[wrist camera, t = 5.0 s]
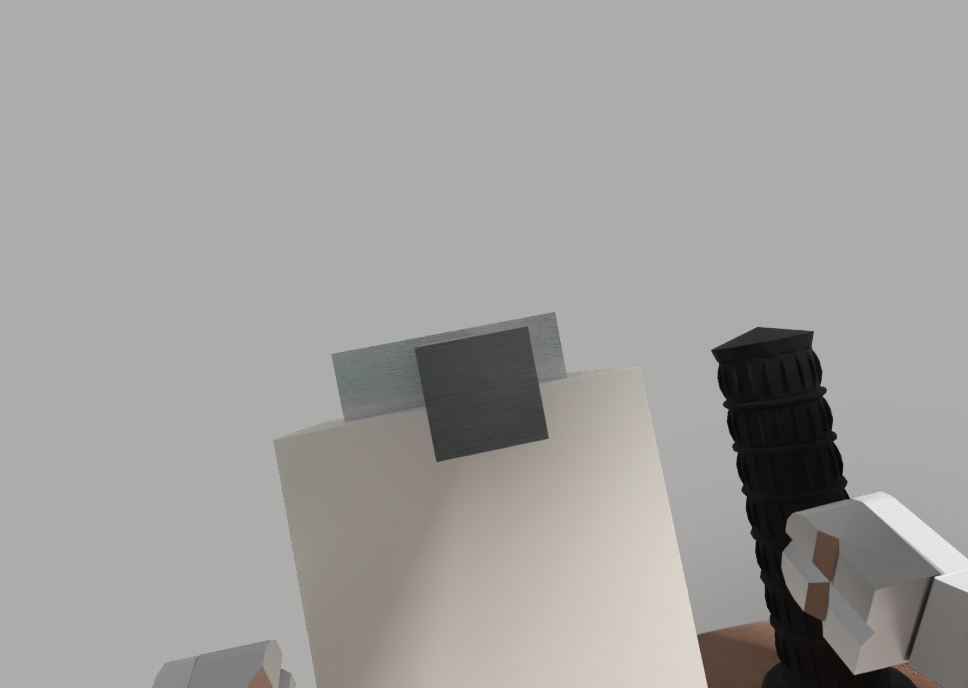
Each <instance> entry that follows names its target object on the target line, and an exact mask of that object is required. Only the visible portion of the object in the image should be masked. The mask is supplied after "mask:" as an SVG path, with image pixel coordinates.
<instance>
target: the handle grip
mask: <svg viewBox="0 0 968 688" xmlns="http://www.w3.org/2000/svg"><path fill="white" fill-rule="evenodd" d="M813 333H814V331H803V330H789V329H776V328H762V327H757V328H755V329H753V330H751V331H749V332H747V333H744V334H743V335H741V336H738V337H736V338H734V339H732V340H730V341H728V342H726V343H725V344H722V345H720V346H718V347H716V348H715V349H712V350H711V351H712V353H713V355H714V357H715V359H716V360H717V362H719V368H718V382H719V387H720V390H721V391H722V393H723V395H724V397H725V398H726V401H725V402H724V403H723V406H724V407H725V408H727V409H729V411H728V416H727V424H728V428H729V432H730V435H731V436H732V438H733V440H734V441H735V443H734V444H733V446H732V448H733V450H734V451H736V452H738V456H737V463H736V465H737V469H738V474H739V477H740V479H741V481H742V483H743V484H744V485H743V487H742V490H741V491H742V492H743V493H744V494H745V495H746V496H747V500H746V512H747V516H748V520H749V522H750V524H751V526H752V530H751V535H752V537H753V538H754V539H755V540H756V547H755V548H756V549H755V553H756V557H757V562H758V565H759V567H760V568H761V574H760V578H761V580H762V581H763V582H764V584H765V600H766V604H767V608H768V609H769V611H770V613H771V615H770V624H771V625H772V627H773V628H774V629H775V646H776V650H777V655H778V657H779V659H780V661H781V662H780V663H778V664H777V665H775V666H774V667H773V668H772V669H771V670H770V671H769V672H768V673H767V674H766V675H765V678H764V681H763V684H762V688H917V687H916V686H915V685H914V684H913V682H912V681H911V680H910V679H909V678H908V677H907V676H905V675H904V674H903V673H901V672H900V671H898V670H897V669H895V668H893V667H891V666H890V667H886V668H882V669H878V670H873V671H869V672H865V673H861V674H857V675H854V674H853V673H852V672H851V670H850V669H849V668H848V667H847V665H846V664H845V663H844V662H843V660H842V659H841V658H840V657H839V655H838V654H837V653H836V652H835V650H834V649H833V648H832V647H831V645H830V644H829V643H828V642H827V640H826V639H825V638H824V636H823V621H821V620H819V619H817V618H816V617H814V616H812V615H810V614H808V613H806V612H804V611H803V610H802V608H801V607H800V606H799V604H798V603H797V602H796V601H795V599H794V598H793V596H792V594H791V592H790V591H789V589H788V587H787V585H786V582H785V579H784V575H783V571H782V568H781V566H782V554H783V551H784V550H785V548H786V547H787V546H788V545H789V543H790V542H791V541H792V538H791V537H790V536H789V535H788V534H787V533H786V525H787V519H788V518H789V517H790V516H791V515H792V513H795V512H799V511H803V510H807V509H811V508H815V507H818V506H822V505H826V504H830V503H834V502H838V501H842V500H846V499H847V500H850V498H849V496H848V494H847V492H846V490H845V487H846V485H847V480H846V479H845V477H844V476H842V473H843V462H842V458H841V454H840V452H839V450H838V448H837V446H836V445H835V443H834V442H833V441H834V440H836V439H837V434H836V433H835V432H833V431H831V430H832V424H833V417H832V413H831V409H830V407H829V405H828V403H827V401H826V400H825V398H824V397H823V395H824V394H825V393H826V392H827V389H826V388H825V387H821V386H820V384H821V380H822V369H821V365H820V361H819V359H818V357H817V355H816V354H815V352H814V351H813V350H812V340H813Z"/></svg>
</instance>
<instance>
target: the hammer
mask: <svg viewBox="0 0 968 688" xmlns="http://www.w3.org/2000/svg"><path fill="white" fill-rule="evenodd" d="M332 359H333V365H334V369H335V375H336V380H337V385H338V390H339V396H340V401H341V406H342V411H343V416H344V421H345V422H348V421H353V420H358V419H363V418H368V417H373V416H378V415H383V414H388V413H393V412H398V411H403V410H408V409H413V408H418V407H423V406H426V411H427V416H428V421H429V426H430V432H431V437H432V442H433V447H434V453H435V458H436V462H440V461H445V460H450V459H454V458H459V457H464V456H469V455H473V454H478V453H483V452H488V451H493V450H497V449H502V448H507V447H512V446H516V445H521V444H526V443H531V442H535V441H540V440H545V439H549V436H548V431H547V425H546V420H545V415H544V409H543V404H542V399H541V393H540V388H539V383H543V382H548V381H553V380H558V379H563V378H567V375H566V369H565V364H564V359H563V354H562V348H561V342H560V337H559V332H558V326H557V321H556V315H555V312H553V313H547V314H542V315H537V316H532V317H526V318H521V319H515V320H510V321H505V322H500V323H494V324H489V325H484V326H479V327H473V328H468V329H463V330H458V331H452V332H446V333H441V334H436V335H431V336H425V337H420V338H415V339H409V340H404V341H399V342H393V343H388V344H383V345H378V346H372V347H367V348H362V349H356V350H351V351H346V352H340V353H335V354H332Z"/></svg>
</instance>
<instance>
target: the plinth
mask: <svg viewBox="0 0 968 688" xmlns="http://www.w3.org/2000/svg"><path fill="white" fill-rule="evenodd" d="M566 375H567V378H563V379H558V380H553V381H548V382H543V383H539V388H540V393H541V399H542V404H543V409H544V415H545V420H546V425H547V431H548V436H549V439H545V440H540V441H535V442H531V443H526V444H521V445H516V446H512V447H507V448H502V449H497V450H493V451H488V452H483V453H478V454H473V455H469V456H464V457H459V458H454V459H450V460H445V461H440V462H436V458H435V453H434V447H433V442H432V437H431V432H430V426H429V421H428V416H427V411H426V406H423V407H418V408H413V409H408V410H403V411H398V412H393V413H388V414H383V415H378V416H373V417H368V418H363V419H358V420H353V421H348V422H345V421H344V416H343V417H339V418H336V419H333V420H330V421H327V422H325V423H321V424H319V425H316V426H313V427H310V428H307V429H304V430H301V431H298V432H295V433H292V434H289V435H286V436H283V437H280V438H278V439H274V445H275V451H276V456H277V462H278V468H279V474H280V478H281V485H282V491H283V496H284V502H285V507H286V513H287V519H288V524H289V530H290V536H291V541H292V547H293V552H294V559H295V564H296V570H297V576H298V581H299V587H300V592H301V598H302V604H303V609H304V615H305V621H306V626H307V632H308V637H309V644H310V649H311V655H312V661H313V666H314V671H315V678H316V683H317V688H708V687H707V682H706V677H705V672H704V667H703V663H702V658H701V653H700V648H699V644H698V639H697V634H696V630H695V625H694V620H693V615H692V611H691V606H690V601H689V596H688V592H687V587H686V582H685V577H684V573H683V568H682V563H681V559H680V554H679V549H678V544H677V539H676V534H675V530H674V525H673V520H672V515H671V511H670V506H669V501H668V496H667V492H666V487H665V482H664V477H663V473H662V468H661V463H660V458H659V453H658V449H657V444H656V439H655V434H654V430H653V425H652V420H651V415H650V411H649V406H648V401H647V396H646V392H645V387H644V382H643V377H642V373H641V368H640V366H638V367H627V368H617V369H606V370H596V371H585V372H574V373H566Z"/></svg>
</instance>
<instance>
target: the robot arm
mask: <svg viewBox="0 0 968 688" xmlns="http://www.w3.org/2000/svg"><path fill="white" fill-rule="evenodd" d="M786 533H787V534H788V535H789V536H790V537H791V538H792V541H791V542H790V543H789V545H788V546H787V547H786V548H785V550H784V551H783V554H782V566H781V568H782V571H783V575H784V579H785V582H786V585H787V587H788V589H789V591H790V592H791V594H792V596H793V598H794V599H795V601H796V602H797V603H798V604H799V606H800V607H801V608H802V610H803V611H804V612H806V613H808V614H810V615H812V616H814V617H816V618H817V619H819V620H821V621H823V636H824V638H825V639H826V640H827V642H828V643H829V644H830V645H831V647H832V648H833V649H834V650H835V652H836V653H837V654H838V655H839V657H840V658H841V659H842V660H843V662H844V663H845V664H846V665H847V667H848V668H849V669H850V670H851V672H852V673H853V674H854V675H857V674H861V673H865V672H869V671H873V670H878V669H882V668H886V667H890V666H894V665H898V664H903V663H907V662H908V666H909V667H911V668H912V669H914V670H915V671H917V672H919V673H920V674H922V675H923V676H925V677H927V678H928V679H930V680H931V681H933V682H935V683H936V684H938V685H939V686H941V687H943V688H968V559H967V558H966V557H965V556H963V555H962V554H961V553H960V552H959V551H957V550H956V549H955V548H954V547H953V546H951V545H950V544H949V543H948V542H947V541H945V540H944V539H943V538H942V537H941V536H939V535H938V534H937V533H936V532H935V531H933V530H932V529H931V528H930V527H928V526H927V525H926V524H925V523H924V522H923V521H921V520H920V519H919V518H918V517H917V516H915V515H914V514H913V513H912V512H911V511H909V510H908V509H907V508H906V507H905V506H903V505H902V504H901V503H900V502H898V501H897V500H896V499H895V498H894V497H892V496H891V495H889V494H886V493H884V492H877V493H873V494H869V495H865V496H861V497H856V498H852V499H850V500H847V499H846V500H842V501H838V502H834V503H830V504H826V505H822V506H818V507H815V508H811V509H807V510H803V511H799V512H795V513H792V515H791V516H790V517H789V518H788V519H787V525H786ZM281 661H282V652H281V650H280V648H279V646H278V644H277V642H276V640H268V641H263V642H259V643H254V644H249V645H244V646H240V647H235V648H231V649H226V650H221V651H216V652H212V653H207V654H202V655H199V656H194V657H190V658H186V659H181V660H177V661H172V662H168V663H165V664H164V666H163V667H162V669H161V670H160V671H159V673H158V674H157V676H156V678H155V682H154V684H153V687H152V688H296V685H295V682H294V680H293V677H292V675H291V673H289V672H287V671H285V670H283V669H281Z"/></svg>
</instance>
